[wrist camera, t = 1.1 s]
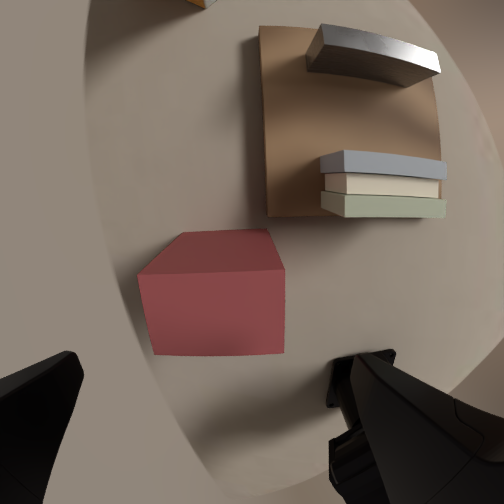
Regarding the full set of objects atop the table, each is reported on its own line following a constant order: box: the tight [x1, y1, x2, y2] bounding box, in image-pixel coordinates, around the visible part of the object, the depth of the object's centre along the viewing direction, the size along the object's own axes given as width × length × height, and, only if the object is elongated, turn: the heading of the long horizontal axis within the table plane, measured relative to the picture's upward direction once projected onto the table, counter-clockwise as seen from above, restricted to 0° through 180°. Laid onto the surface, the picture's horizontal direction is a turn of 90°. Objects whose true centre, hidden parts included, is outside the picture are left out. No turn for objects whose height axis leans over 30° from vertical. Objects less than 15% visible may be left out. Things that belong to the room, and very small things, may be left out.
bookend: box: [305, 24, 441, 88], centre depth 13 cm, size 2×8×4 cm, turn 92°
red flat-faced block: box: [137, 228, 285, 356], centre depth 15 cm, size 4×6×9 cm, turn 92°
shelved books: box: [320, 150, 447, 218], centre depth 15 cm, size 3×7×4 cm, turn 92°
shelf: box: [258, 26, 441, 217], centre depth 17 cm, size 14×14×2 cm
